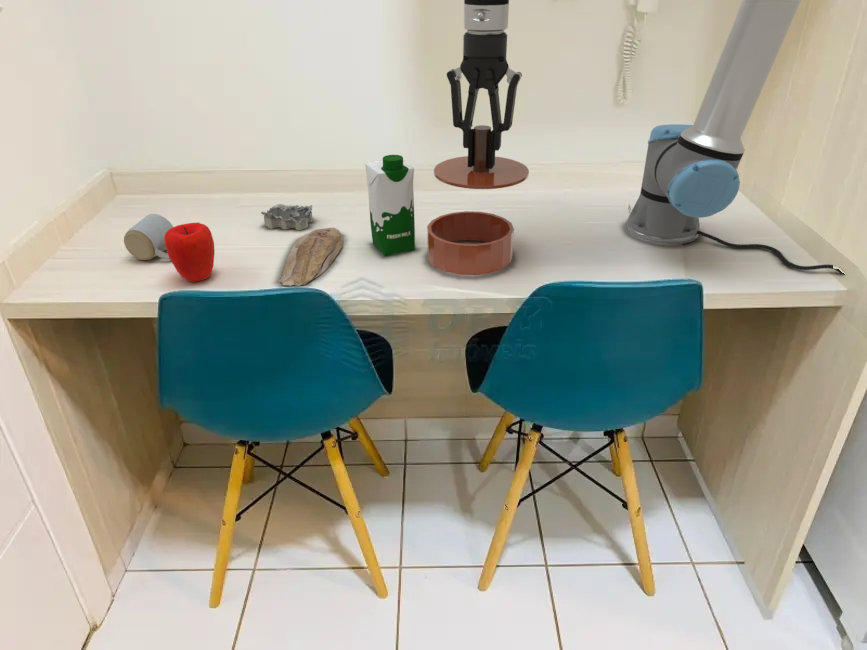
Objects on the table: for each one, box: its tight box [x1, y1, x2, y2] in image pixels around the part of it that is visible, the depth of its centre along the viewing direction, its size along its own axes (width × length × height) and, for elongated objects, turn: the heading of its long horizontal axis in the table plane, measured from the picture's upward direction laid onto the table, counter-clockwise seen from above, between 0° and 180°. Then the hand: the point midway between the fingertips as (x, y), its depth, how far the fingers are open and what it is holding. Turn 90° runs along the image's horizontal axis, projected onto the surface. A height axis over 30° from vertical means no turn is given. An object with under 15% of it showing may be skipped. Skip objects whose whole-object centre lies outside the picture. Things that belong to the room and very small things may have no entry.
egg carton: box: [260, 203, 314, 231], centre depth 146 cm, size 11×8×4 cm
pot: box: [426, 210, 515, 276], centre depth 128 cm, size 17×17×7 cm
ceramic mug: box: [123, 213, 174, 261], centre depth 131 cm, size 11×8×8 cm
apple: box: [165, 222, 215, 283], centre depth 122 cm, size 9×9×11 cm
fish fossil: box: [278, 227, 344, 287], centre depth 131 cm, size 26×10×1 cm, turn 179°
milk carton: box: [364, 154, 416, 257], centre depth 130 cm, size 9×9×20 cm
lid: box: [433, 124, 530, 190], centre depth 119 cm, size 18×18×9 cm
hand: (481, 165), depth 120 cm, fingers closed on lid, 3 cm apart
